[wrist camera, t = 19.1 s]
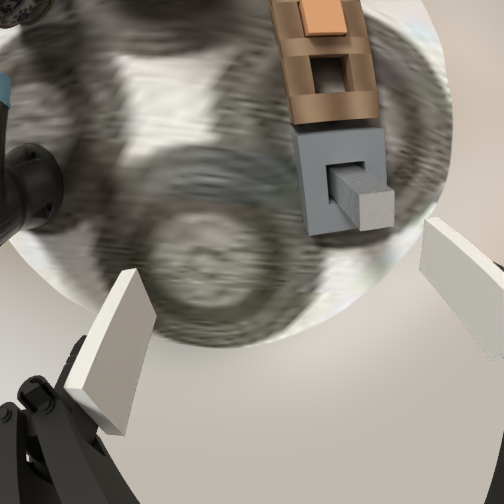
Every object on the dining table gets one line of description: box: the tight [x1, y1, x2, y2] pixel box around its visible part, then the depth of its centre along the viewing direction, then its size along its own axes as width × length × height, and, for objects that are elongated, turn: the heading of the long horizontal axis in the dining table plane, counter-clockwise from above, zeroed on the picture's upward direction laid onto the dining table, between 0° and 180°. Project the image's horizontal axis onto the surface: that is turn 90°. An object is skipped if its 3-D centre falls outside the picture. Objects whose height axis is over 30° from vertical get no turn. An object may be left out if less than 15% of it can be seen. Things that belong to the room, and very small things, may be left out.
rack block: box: [292, 126, 387, 236], centre depth 41 cm, size 12×14×5 cm
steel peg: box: [325, 162, 394, 231], centre depth 36 cm, size 4×4×16 cm
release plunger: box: [298, 0, 347, 38], centre depth 30 cm, size 5×5×5 cm
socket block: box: [267, 0, 380, 125], centre depth 33 cm, size 12×20×4 cm, turn 10°
